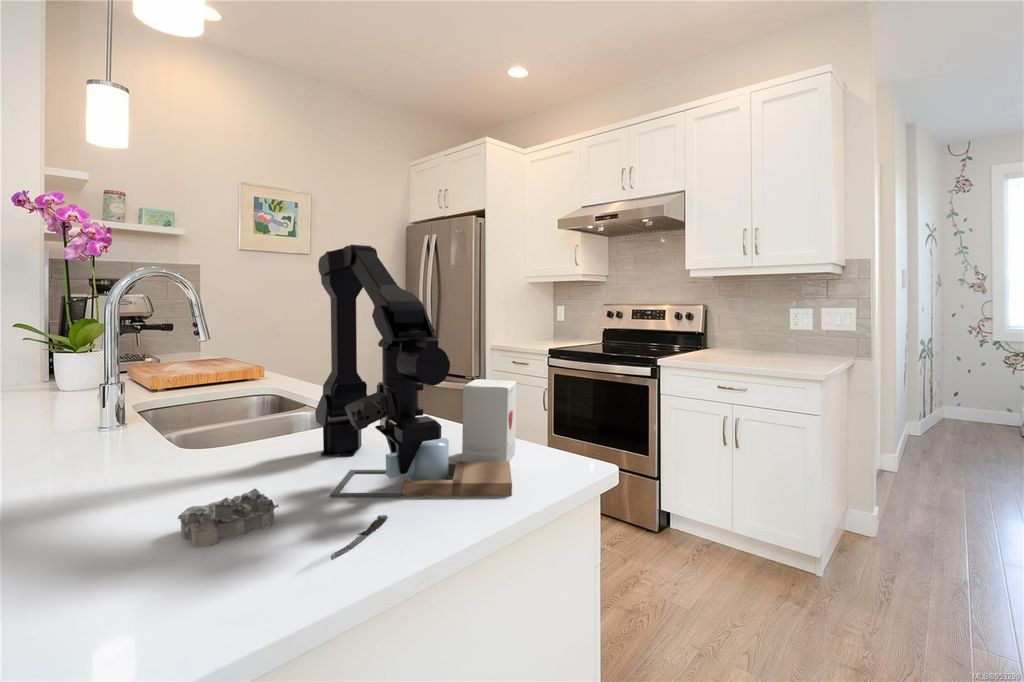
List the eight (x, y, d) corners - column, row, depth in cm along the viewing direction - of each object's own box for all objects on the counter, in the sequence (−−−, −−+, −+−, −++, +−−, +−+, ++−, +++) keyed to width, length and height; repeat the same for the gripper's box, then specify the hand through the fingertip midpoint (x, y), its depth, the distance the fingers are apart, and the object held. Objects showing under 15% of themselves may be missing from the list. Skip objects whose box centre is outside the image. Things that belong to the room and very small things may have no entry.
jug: (436, 473, 92) (436, 434, 92) (455, 483, 87) (455, 443, 86) (379, 486, 85) (379, 444, 85) (397, 498, 80) (396, 454, 80)
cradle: (402, 495, 82) (402, 483, 81) (413, 472, 92) (413, 461, 92) (511, 495, 82) (512, 482, 82) (509, 472, 93) (509, 461, 93)
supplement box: (507, 466, 96) (508, 387, 95) (461, 463, 98) (461, 385, 97) (516, 452, 105) (517, 380, 104) (474, 449, 107) (474, 378, 106)
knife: (371, 512, 74) (390, 514, 73) (372, 517, 74) (390, 519, 73) (292, 574, 58) (315, 577, 57) (292, 580, 58) (315, 583, 57)
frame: (329, 497, 81) (329, 495, 80) (350, 471, 92) (350, 469, 92) (400, 496, 81) (400, 494, 81) (412, 471, 93) (412, 469, 93)
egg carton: (194, 554, 63) (192, 522, 62) (175, 535, 68) (173, 505, 67) (281, 526, 71) (280, 497, 70) (259, 510, 76) (258, 483, 75)
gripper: (334, 372, 86) (336, 463, 88) (368, 390, 71) (369, 500, 72) (398, 368, 92) (398, 453, 94) (443, 384, 77) (442, 486, 78)
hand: (401, 471), depth 84 cm, fingers closed on jug
